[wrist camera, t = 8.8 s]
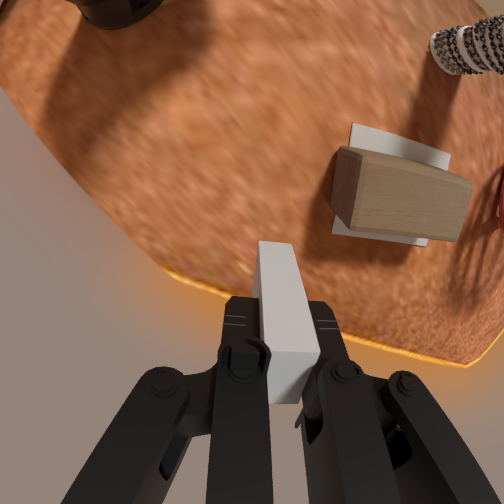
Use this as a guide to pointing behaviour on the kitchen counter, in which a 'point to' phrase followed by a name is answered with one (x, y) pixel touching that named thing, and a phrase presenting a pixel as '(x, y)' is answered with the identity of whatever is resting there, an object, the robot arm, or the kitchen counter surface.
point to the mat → (396, 147)
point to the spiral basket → (501, 208)
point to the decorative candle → (470, 48)
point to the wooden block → (398, 196)
